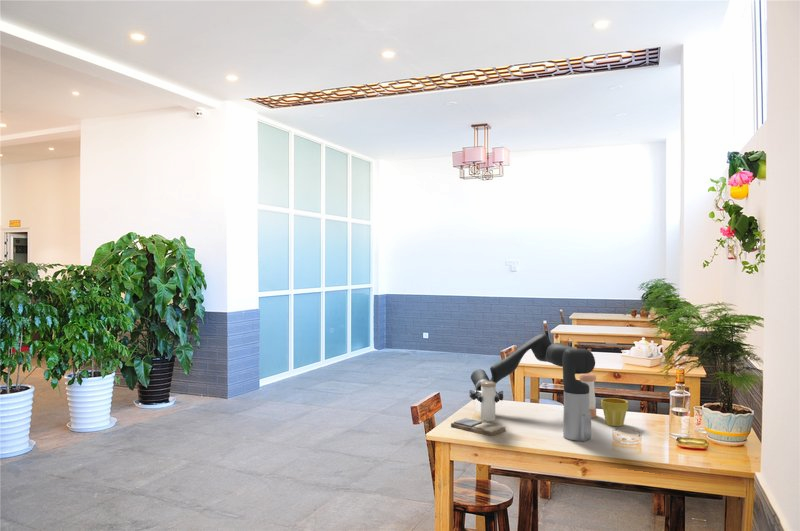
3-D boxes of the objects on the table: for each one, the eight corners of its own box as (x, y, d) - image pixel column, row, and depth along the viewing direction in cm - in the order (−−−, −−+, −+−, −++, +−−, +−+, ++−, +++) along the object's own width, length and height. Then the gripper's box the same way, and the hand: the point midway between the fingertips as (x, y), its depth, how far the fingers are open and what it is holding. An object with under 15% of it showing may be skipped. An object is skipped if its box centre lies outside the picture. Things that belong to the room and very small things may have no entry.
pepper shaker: (594, 413, 254) (594, 369, 254) (598, 417, 247) (598, 373, 247) (577, 413, 255) (577, 369, 255) (580, 417, 247) (580, 372, 247)
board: (505, 430, 227) (505, 425, 227) (491, 436, 219) (491, 431, 219) (465, 421, 239) (465, 417, 239) (450, 426, 232) (451, 422, 232)
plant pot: (601, 420, 244) (601, 396, 244) (627, 422, 240) (627, 398, 240) (601, 426, 234) (601, 402, 234) (628, 429, 230) (628, 404, 230)
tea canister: (498, 418, 227) (498, 382, 227) (490, 421, 223) (490, 385, 222) (485, 415, 231) (486, 380, 231) (477, 418, 226) (478, 383, 226)
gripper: (502, 399, 240) (507, 409, 224) (467, 398, 241) (470, 409, 224) (502, 381, 240) (507, 390, 223) (467, 380, 241) (470, 389, 224)
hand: (488, 399), depth 224 cm, fingers closed on tea canister, 5 cm apart
